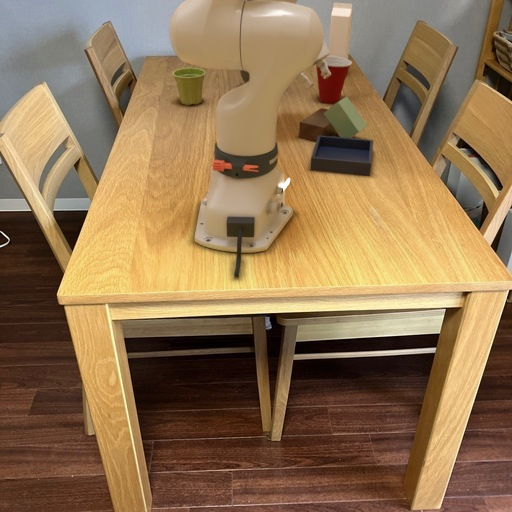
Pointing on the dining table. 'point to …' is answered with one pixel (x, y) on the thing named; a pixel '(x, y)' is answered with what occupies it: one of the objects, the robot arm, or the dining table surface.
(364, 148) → the tray
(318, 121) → the walnut block
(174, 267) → the dining table surface
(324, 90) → the plastic cup
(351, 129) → the green box
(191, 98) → the plant pot
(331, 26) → the milk
